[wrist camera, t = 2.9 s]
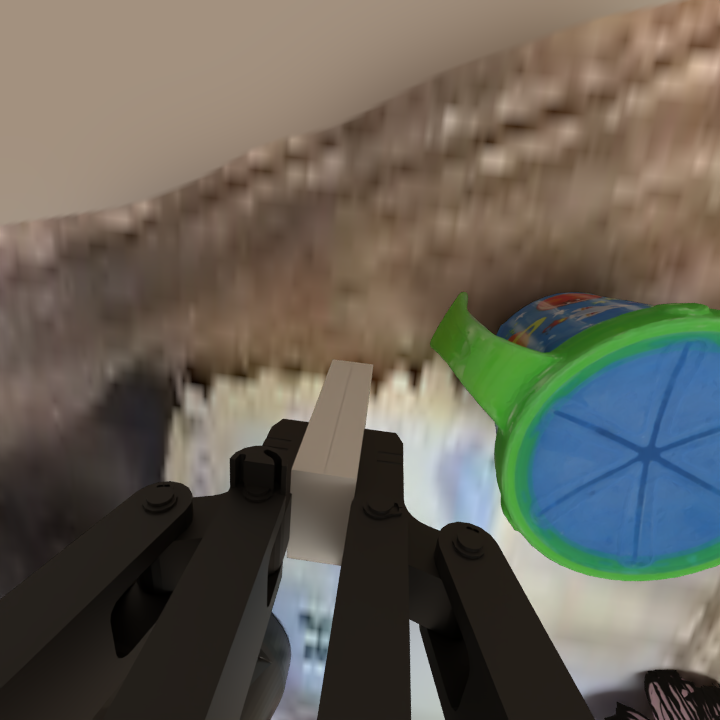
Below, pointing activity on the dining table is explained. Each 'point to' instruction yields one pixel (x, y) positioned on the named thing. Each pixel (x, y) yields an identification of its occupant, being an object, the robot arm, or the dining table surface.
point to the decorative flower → (674, 699)
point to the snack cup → (601, 428)
